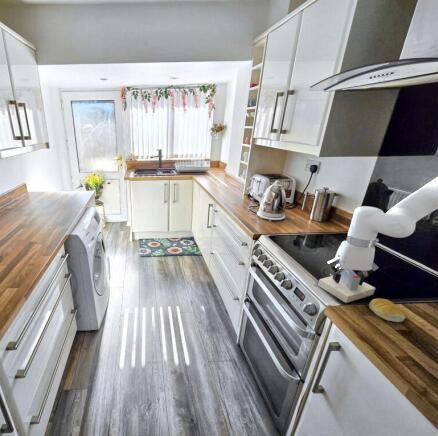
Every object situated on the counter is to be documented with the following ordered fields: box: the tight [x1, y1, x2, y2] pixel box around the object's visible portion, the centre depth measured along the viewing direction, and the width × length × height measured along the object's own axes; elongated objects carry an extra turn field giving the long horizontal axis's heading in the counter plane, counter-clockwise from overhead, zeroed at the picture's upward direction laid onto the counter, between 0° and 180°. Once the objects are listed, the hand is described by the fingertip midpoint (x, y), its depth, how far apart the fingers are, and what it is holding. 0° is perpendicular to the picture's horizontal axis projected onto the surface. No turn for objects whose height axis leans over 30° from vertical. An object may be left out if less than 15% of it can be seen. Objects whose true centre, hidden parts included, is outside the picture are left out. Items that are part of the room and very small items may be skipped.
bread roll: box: [368, 298, 407, 323], centre depth 81 cm, size 8×9×4 cm
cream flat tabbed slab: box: [317, 273, 376, 304], centre depth 93 cm, size 14×13×3 cm
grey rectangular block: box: [340, 269, 361, 291], centre depth 91 cm, size 9×2×6 cm, turn 167°
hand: (347, 282), depth 92 cm, fingers open, 6 cm apart
